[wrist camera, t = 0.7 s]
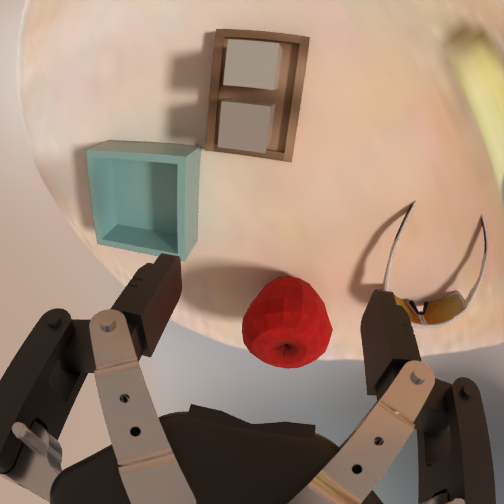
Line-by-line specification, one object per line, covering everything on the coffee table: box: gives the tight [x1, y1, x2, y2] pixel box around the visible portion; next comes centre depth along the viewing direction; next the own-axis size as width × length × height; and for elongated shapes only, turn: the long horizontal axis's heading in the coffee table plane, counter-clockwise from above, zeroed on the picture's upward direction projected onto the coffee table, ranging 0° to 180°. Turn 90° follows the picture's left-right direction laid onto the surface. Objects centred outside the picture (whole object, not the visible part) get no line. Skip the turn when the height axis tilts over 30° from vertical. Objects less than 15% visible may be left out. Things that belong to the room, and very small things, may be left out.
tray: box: [206, 29, 310, 162], centre depth 26 cm, size 13×9×1 cm
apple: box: [242, 277, 333, 368], centre depth 34 cm, size 10×10×11 cm
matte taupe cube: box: [223, 39, 283, 90], centre depth 23 cm, size 4×4×5 cm
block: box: [218, 98, 276, 153], centre depth 26 cm, size 4×4×5 cm
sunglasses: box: [382, 200, 488, 329], centre depth 32 cm, size 14×15×5 cm
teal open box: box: [86, 140, 201, 261], centre depth 32 cm, size 12×12×4 cm
